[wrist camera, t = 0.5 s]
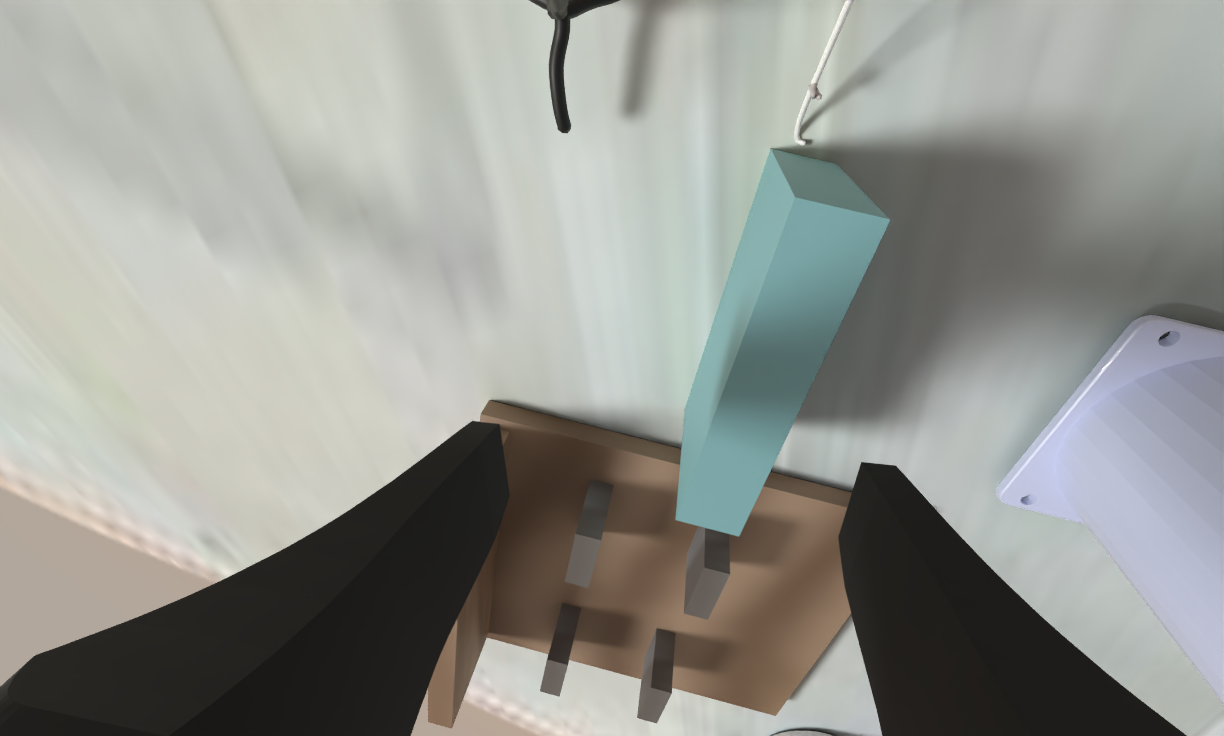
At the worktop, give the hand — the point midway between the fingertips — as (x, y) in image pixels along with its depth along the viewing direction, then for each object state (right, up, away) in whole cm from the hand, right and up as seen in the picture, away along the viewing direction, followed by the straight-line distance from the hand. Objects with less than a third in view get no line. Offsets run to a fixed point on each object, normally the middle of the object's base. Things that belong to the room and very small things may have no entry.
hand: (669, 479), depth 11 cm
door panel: (+4, +5, +8) cm, 10 cm away
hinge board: (+1, -8, +16) cm, 18 cm away
